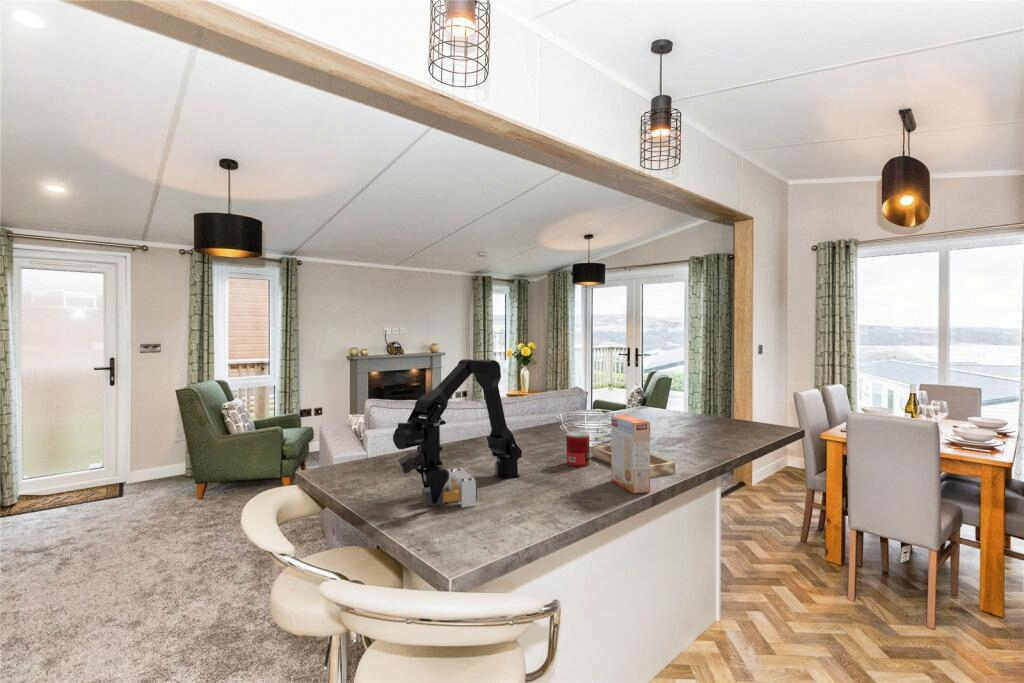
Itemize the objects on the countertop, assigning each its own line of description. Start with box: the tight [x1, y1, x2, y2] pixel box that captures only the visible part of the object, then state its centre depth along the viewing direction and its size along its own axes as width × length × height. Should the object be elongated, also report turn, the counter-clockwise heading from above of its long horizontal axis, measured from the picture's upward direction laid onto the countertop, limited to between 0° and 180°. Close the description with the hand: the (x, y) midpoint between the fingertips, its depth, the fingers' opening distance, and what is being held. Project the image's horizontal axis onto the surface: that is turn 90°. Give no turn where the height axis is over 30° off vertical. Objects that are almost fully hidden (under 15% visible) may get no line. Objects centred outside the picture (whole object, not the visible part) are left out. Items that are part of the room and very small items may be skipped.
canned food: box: [566, 430, 590, 468], centre depth 173 cm, size 8×8×11 cm
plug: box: [421, 485, 478, 507], centre depth 137 cm, size 15×4×4 cm, turn 112°
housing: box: [447, 467, 477, 509], centre depth 139 cm, size 4×14×7 cm, turn 22°
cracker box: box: [610, 414, 651, 495], centre depth 147 cm, size 14×6×21 cm, turn 15°
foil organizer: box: [592, 444, 676, 478], centre depth 172 cm, size 13×30×4 cm, turn 22°
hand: (430, 498), depth 135 cm, fingers open, 9 cm apart
